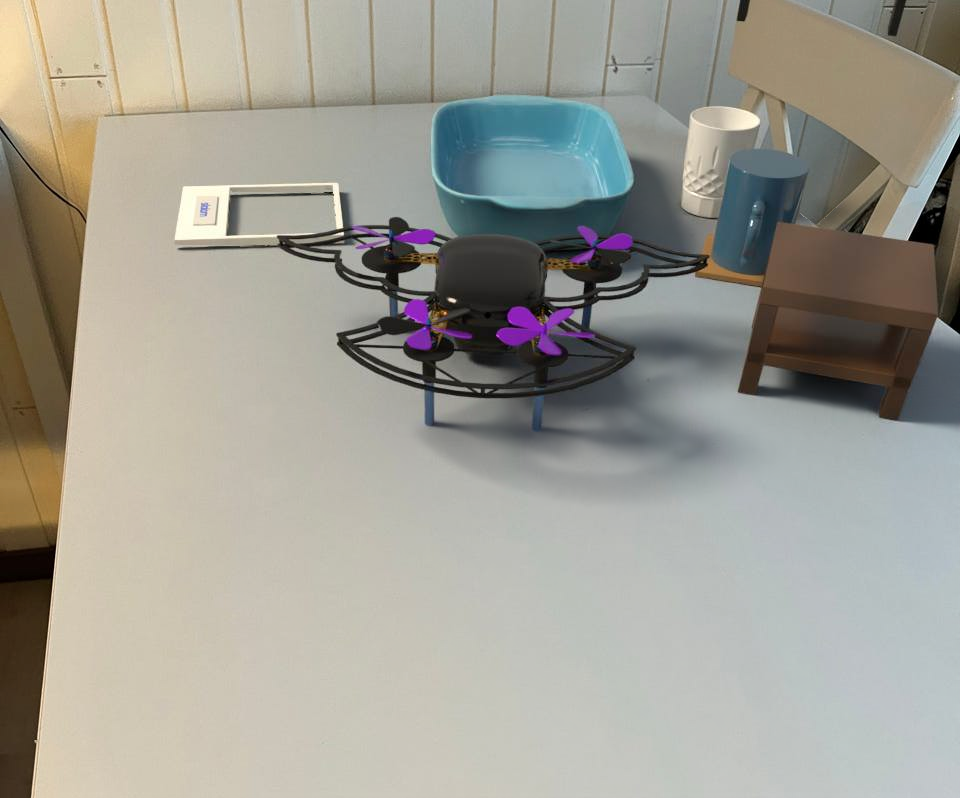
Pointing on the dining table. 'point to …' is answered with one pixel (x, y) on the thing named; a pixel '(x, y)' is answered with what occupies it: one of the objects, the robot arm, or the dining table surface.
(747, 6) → the robot arm
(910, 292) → the walnut side table
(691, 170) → the white cup
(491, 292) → the drone
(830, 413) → the dining table surface
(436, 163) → the casserole dish
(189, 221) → the photo frame
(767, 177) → the mug
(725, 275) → the cork mat
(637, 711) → the dining table surface
